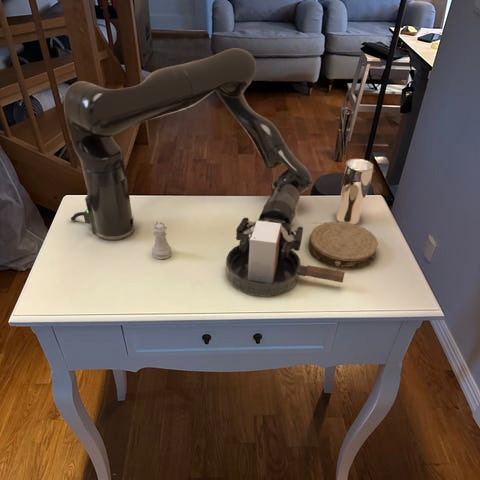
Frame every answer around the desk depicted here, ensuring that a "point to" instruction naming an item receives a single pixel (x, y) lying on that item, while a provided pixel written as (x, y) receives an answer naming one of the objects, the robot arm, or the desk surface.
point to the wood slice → (342, 245)
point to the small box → (264, 251)
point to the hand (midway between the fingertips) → (262, 252)
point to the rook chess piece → (161, 242)
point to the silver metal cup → (354, 189)
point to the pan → (281, 283)
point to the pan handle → (321, 273)
